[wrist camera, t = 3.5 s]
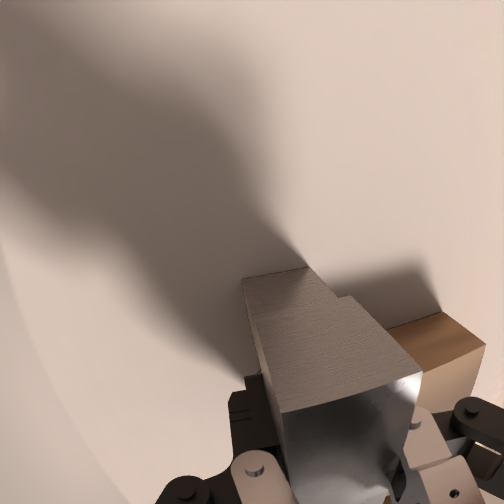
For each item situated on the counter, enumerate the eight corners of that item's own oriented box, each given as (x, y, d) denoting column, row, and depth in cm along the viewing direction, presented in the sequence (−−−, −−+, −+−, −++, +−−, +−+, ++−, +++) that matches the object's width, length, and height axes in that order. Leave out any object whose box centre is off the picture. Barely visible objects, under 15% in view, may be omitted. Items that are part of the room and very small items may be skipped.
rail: (333, 344, 15) (366, 393, 11) (442, 311, 16) (486, 344, 12) (326, 517, 21) (337, 547, 18) (392, 494, 22) (406, 521, 18)
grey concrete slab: (239, 265, 13) (281, 413, 5) (308, 253, 14) (423, 370, 5) (263, 404, 16) (297, 542, 7) (317, 392, 16) (375, 519, 8)
